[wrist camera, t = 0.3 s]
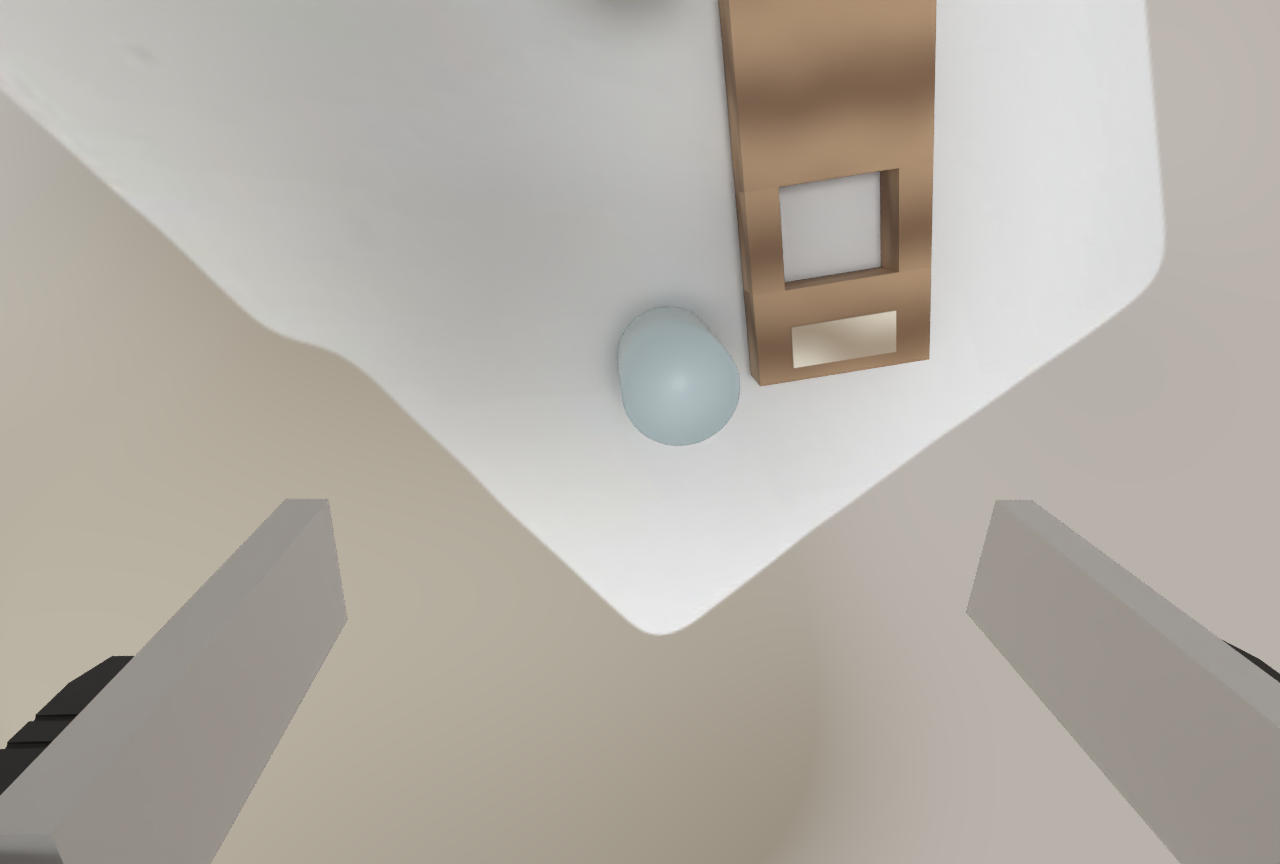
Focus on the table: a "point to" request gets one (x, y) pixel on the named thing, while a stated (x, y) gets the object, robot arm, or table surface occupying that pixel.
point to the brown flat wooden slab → (832, 173)
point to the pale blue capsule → (676, 377)
